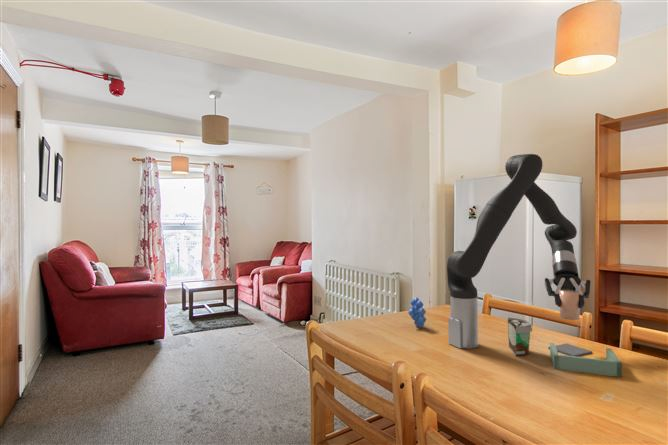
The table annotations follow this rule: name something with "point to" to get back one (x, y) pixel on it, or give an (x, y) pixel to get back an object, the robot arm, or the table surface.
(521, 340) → the food container
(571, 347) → the mat
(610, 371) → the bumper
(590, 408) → the table surface
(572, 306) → the brown cylinder
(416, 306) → the grapes
